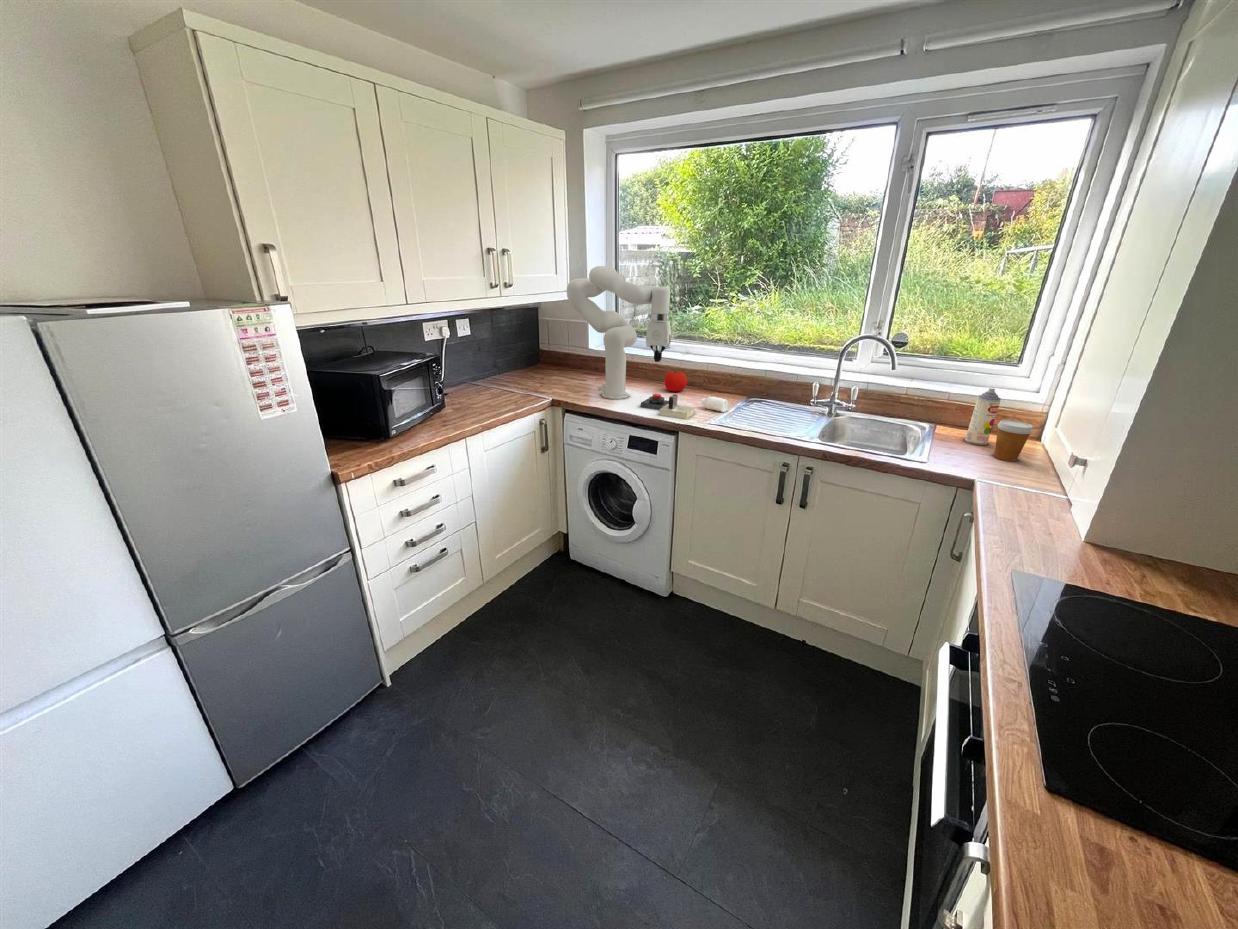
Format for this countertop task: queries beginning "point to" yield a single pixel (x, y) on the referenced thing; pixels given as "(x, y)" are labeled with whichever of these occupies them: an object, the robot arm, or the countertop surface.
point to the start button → (656, 396)
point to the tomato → (675, 381)
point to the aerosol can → (983, 418)
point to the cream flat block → (677, 411)
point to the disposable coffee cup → (1011, 439)
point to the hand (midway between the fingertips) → (657, 361)
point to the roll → (715, 403)
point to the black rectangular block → (673, 401)
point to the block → (654, 403)
